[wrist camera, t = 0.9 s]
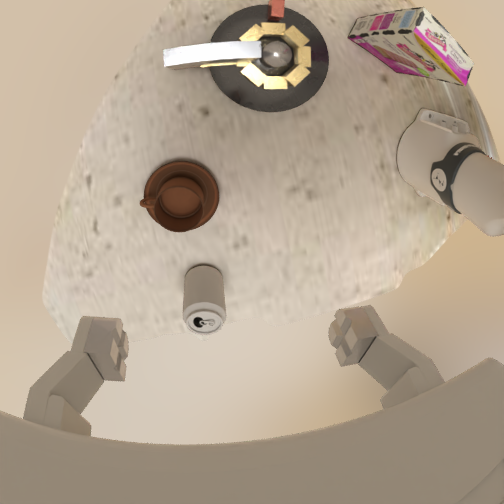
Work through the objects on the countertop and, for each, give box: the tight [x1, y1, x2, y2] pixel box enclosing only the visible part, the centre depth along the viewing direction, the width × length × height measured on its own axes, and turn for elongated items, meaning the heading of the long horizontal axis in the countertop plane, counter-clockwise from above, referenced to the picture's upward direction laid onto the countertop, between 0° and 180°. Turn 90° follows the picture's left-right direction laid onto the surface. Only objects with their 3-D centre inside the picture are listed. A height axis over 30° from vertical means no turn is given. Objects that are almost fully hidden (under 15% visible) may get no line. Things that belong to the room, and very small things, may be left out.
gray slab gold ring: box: [163, 23, 311, 89], centre depth 26 cm, size 18×10×9 cm, turn 92°
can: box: [183, 266, 226, 335], centre depth 49 cm, size 8×8×12 cm
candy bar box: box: [348, 7, 474, 87], centre depth 24 cm, size 11×5×16 cm, turn 67°
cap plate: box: [210, 0, 329, 112], centre depth 29 cm, size 17×17×6 cm
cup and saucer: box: [140, 161, 219, 232], centre depth 40 cm, size 12×12×6 cm
